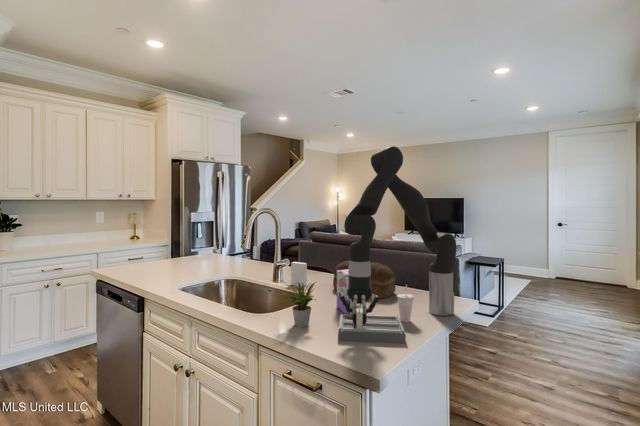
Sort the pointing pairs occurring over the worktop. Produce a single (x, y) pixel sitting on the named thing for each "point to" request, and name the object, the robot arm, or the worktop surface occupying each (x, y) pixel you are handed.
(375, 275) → the bread
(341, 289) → the candy box
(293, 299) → the house plant
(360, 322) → the fader near
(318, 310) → the worktop surface
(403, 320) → the smoothie
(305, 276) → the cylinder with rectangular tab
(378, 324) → the console
